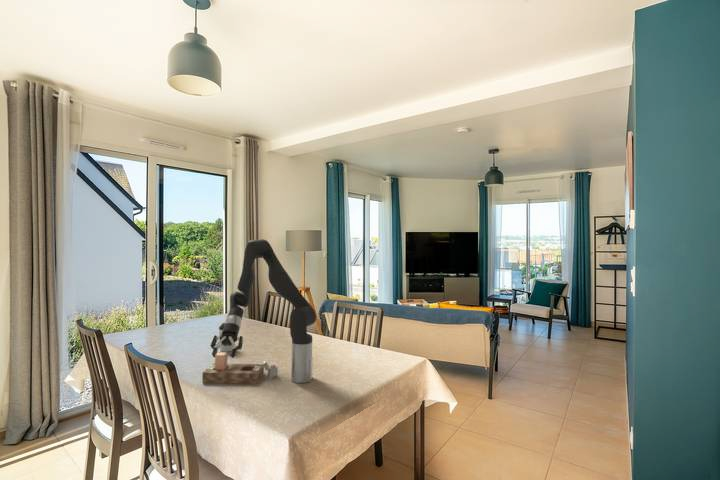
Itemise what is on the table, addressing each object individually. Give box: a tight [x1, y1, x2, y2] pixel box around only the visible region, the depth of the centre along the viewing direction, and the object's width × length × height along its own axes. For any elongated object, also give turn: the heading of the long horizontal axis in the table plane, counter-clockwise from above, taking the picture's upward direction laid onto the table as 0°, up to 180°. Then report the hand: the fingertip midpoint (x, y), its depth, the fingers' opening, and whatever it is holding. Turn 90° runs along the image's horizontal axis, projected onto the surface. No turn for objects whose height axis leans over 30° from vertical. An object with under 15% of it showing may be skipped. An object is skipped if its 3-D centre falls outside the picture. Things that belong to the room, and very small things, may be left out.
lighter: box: [262, 360, 279, 379], centre depth 171 cm, size 7×2×8 cm, turn 133°
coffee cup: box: [218, 322, 234, 353], centre depth 211 cm, size 9×9×15 cm
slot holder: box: [201, 362, 265, 385], centre depth 169 cm, size 24×12×5 cm, turn 90°
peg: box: [214, 351, 228, 370], centre depth 169 cm, size 4×4×10 cm
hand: (223, 356), depth 171 cm, fingers open, 8 cm apart
